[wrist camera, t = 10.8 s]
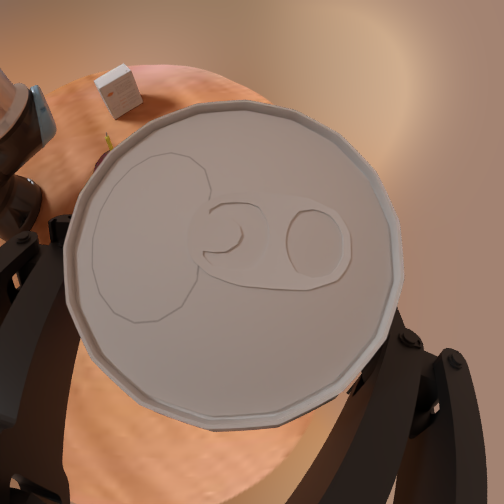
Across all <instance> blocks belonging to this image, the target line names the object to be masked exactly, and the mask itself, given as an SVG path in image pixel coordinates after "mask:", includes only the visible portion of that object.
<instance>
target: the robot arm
mask: <svg viewBox="0 0 504 504" xmlns="http://www.w3.org/2000/svg"><path fill="white" fill-rule="evenodd" d="M55 134H56V124H55V121H54V119H53V116H52V114H51V111H50V109H49V107H48V104H47V102H46V100H45V97H44V95H43V93H42V91H41V89H40V87H39V86H38V85H35V86H33V87H31V88H30V90H29V89H28V88H27V86H26V85H24V84H22V83H17V84H14V85H13V84H12V83H11V81H10V80H9V79H8V78H7V76H6V75H5V74H4V73H3V71H2V70H1V69H0V238H1V239H3V240H5V241H6V243H4V244H3V245H2V246H1V247H0V504H70V492H69V483H68V479H67V476H66V474H65V472H64V469H63V465H62V456H63V439H64V428H65V419H66V410H67V403H68V396H69V390H70V384H71V379H72V374H73V369H74V364H75V359H76V354H77V350H78V346H79V342H80V338H81V337H80V335H79V333H78V331H77V328H76V326H75V324H74V321H73V319H72V317H71V314H70V312H69V309H68V307H67V304H66V296H65V283H64V261H63V246H64V242H65V238H66V234H67V231H68V227H69V224H70V221H71V217H72V215H70V214H69V215H60V216H57V217H54V218H52V219H51V220H49V221H48V224H49V233H50V240H51V243H50V245H41V244H39V240H38V235H37V233H35V232H32V231H29V230H30V229H31V227H32V226H33V224H34V222H35V220H36V218H37V215H38V213H39V210H40V206H41V198H42V196H41V190H40V187H39V186H38V185H37V184H36V183H35V182H34V181H32V180H31V179H28V178H25V177H22V176H18V175H15V174H14V173H16V172H17V171H18V170H19V169H20V168H21V167H22V166H23V165H24V164H25V163H26V162H27V161H28V160H29V159H30V158H32V157H33V156H34V155H35V154H36V153H37V152H38V151H40V150H41V149H42V148H43V147H44V146H45V145H46V144H47V143H48V142H49V141H50V140H51V139H52V138H53V137H54V136H55ZM15 273H16V274H17V277H18V281H19V284H20V286H19V287H18V288H17V289H16V288H15V286H14V283H13V280H12V277H13V275H14V274H15ZM397 309H398V308H397V307H396V311H395V314H394V317H393V320H392V323H391V326H390V329H389V332H388V335H387V338H386V340H385V341H384V343H383V344H382V345H381V347H380V348H379V349H378V350H377V352H376V353H375V354H374V356H373V357H372V358H371V359H370V361H369V362H368V363H367V364H366V365H365V367H364V368H363V369H362V370H361V372H362V374H361V375H360V377H359V378H358V379H357V380H356V382H355V383H354V384H353V385H352V387H351V388H350V389H349V390H348V392H347V394H350V395H349V397H348V399H347V401H346V404H345V406H344V408H343V410H342V412H341V414H340V416H339V417H338V419H337V421H336V423H335V425H334V427H333V429H332V431H331V433H330V434H329V437H328V438H327V440H326V442H325V443H324V445H323V447H322V449H321V450H320V452H319V454H318V455H317V457H316V459H315V460H314V462H313V464H312V465H311V467H310V468H309V470H308V471H307V473H306V474H305V476H304V477H303V479H302V481H301V482H300V483H299V485H298V486H297V488H296V489H295V491H294V492H293V493H292V495H291V496H290V498H289V499H288V501H287V502H286V503H285V504H386V502H387V499H388V497H389V494H390V492H391V489H392V487H393V484H394V481H395V479H396V476H397V481H396V488H395V495H394V501H393V504H487V468H486V456H485V446H484V438H483V431H482V425H481V419H480V413H479V408H478V404H477V399H476V395H475V391H474V386H473V383H472V379H471V375H470V371H469V368H468V365H467V363H466V360H465V359H464V357H463V356H462V354H461V353H459V352H458V351H456V350H454V349H451V348H446V349H443V351H442V352H441V353H440V355H439V356H438V357H437V356H435V355H433V354H431V353H428V352H426V351H424V348H423V343H422V341H421V339H420V338H419V337H418V335H416V333H414V332H413V331H411V330H410V329H407V328H405V326H404V323H403V320H402V318H401V315H400V313H399V310H397ZM350 392H351V393H350ZM438 403H439V407H440V410H439V411H437V412H436V413H434V406H436V405H437V404H438ZM11 478H13V479H15V480H16V481H17V482H18V484H19V486H20V489H21V490H20V489H16V488H10V481H11Z"/></svg>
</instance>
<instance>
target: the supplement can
mask: <svg viewBox="0 0 504 504" xmlns="http://www.w3.org/2000/svg"><path fill="white" fill-rule="evenodd" d="M63 261H64V283H65V296H66V304H67V307H68V309H69V312H70V314H71V317H72V319H73V321H74V324H75V326H76V328H77V331H78V333H79V335H80V337H81V339H82V341H83V344H84V346H85V348H86V350H87V352H88V354H89V356H90V358H91V360H92V361H93V362H94V363H95V364H96V365H97V366H98V367H99V368H100V369H101V370H102V371H103V372H104V373H105V374H106V375H107V376H108V377H109V378H110V379H111V380H112V381H113V382H114V383H116V384H117V385H118V386H119V387H120V388H121V389H122V390H123V391H124V392H125V393H126V394H128V395H129V396H130V397H131V398H132V399H133V400H134V401H136V402H137V403H138V404H139V405H141V406H143V407H146V408H148V409H150V410H153V411H154V412H157V413H159V414H162V415H165V416H167V417H170V418H173V419H175V420H178V421H181V422H184V423H187V424H190V425H193V426H196V427H199V428H203V429H206V430H209V431H213V432H223V431H244V430H257V429H267V428H276V427H280V426H282V425H284V424H286V423H288V422H291V421H293V420H295V419H297V418H299V417H301V416H303V415H305V414H307V413H309V412H311V411H313V410H315V409H317V408H319V407H321V406H322V405H324V404H326V403H328V402H330V401H332V400H333V399H335V398H336V397H337V396H338V395H339V393H341V392H343V391H344V390H345V389H346V388H347V386H348V385H349V384H350V383H351V382H352V381H353V380H354V378H355V377H356V376H357V375H358V374H359V373H360V371H361V370H362V369H363V368H364V367H365V365H366V364H367V363H368V362H369V361H370V359H371V358H372V357H373V356H374V354H375V353H376V352H377V350H378V349H379V348H380V347H381V345H382V344H383V343H384V341H385V340H386V338H387V335H388V332H389V329H390V326H391V323H392V320H393V317H394V314H395V311H396V307H397V304H398V300H399V297H400V293H401V290H402V286H403V282H404V263H403V250H402V239H401V229H400V221H399V219H398V216H397V214H396V212H395V210H394V207H393V205H392V203H391V201H390V199H389V196H388V194H387V192H386V190H385V188H384V186H383V184H382V182H381V180H380V178H379V176H378V174H377V172H376V171H375V170H374V169H373V167H372V166H371V165H370V164H369V163H368V162H367V161H366V160H365V159H364V158H363V157H362V156H361V155H360V154H359V153H358V151H357V150H356V149H354V147H353V146H352V145H351V144H350V143H349V142H348V141H347V140H346V139H345V138H344V137H342V135H340V134H339V133H337V132H336V131H334V130H332V129H330V128H329V127H327V126H325V125H323V124H321V123H320V122H317V121H316V120H314V119H312V118H310V117H308V116H306V115H304V114H302V113H300V112H298V111H296V110H294V109H289V108H285V107H281V106H276V105H271V104H266V103H261V102H256V101H250V100H233V101H219V102H208V103H199V104H194V105H191V106H188V107H186V108H183V109H180V110H177V111H175V112H172V113H169V114H167V115H164V116H162V117H159V118H157V119H154V120H152V121H150V122H148V123H147V124H145V125H144V126H143V127H141V128H140V129H138V130H137V131H136V132H134V133H133V134H132V135H130V136H129V137H128V138H126V139H125V140H124V141H123V142H121V143H120V144H119V145H117V146H116V147H115V148H114V149H113V150H111V151H110V152H109V153H108V154H107V156H106V157H105V158H104V160H103V161H102V162H101V164H100V165H99V166H98V168H97V169H96V171H95V172H94V173H93V175H92V176H91V178H90V179H89V180H88V182H87V183H86V185H85V186H84V188H83V189H82V191H81V192H80V194H79V196H78V199H77V202H76V205H75V208H74V211H73V214H72V217H71V221H70V224H69V227H68V231H67V234H66V238H65V242H64V246H63Z"/></svg>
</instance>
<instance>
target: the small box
mask: <svg viewBox="0 0 504 504" xmlns="http://www.w3.org/2000/svg"><path fill="white" fill-rule="evenodd" d="M94 83H95V85H96V87H97V89H98V91H99V93H100V95H101V97H102V99H103V101H104V103H105V104H106V106H107V108H108V110H109V112H110V113H111V115H112V116H113V118H114V119H117V118H118V117H120V116H122V115H123V114H125V113H126V112H128V111H130V110H131V109H133V108H135V107H136V106H138V105H140V104H141V103H143V100H142V98H141V95H140V92H139V90H138V87H137V85H136V82H135V79H134V77H133V74H132V71H131V70H130V69H129V68H128V67H127V66H126V65H125V64H121V65H120V66H118V67H116V68H114V69H112V70H111V71H109V72H107V73H106V74H104V75H102V76H101V77H99V78H97V79H96V80H94Z"/></svg>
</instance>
